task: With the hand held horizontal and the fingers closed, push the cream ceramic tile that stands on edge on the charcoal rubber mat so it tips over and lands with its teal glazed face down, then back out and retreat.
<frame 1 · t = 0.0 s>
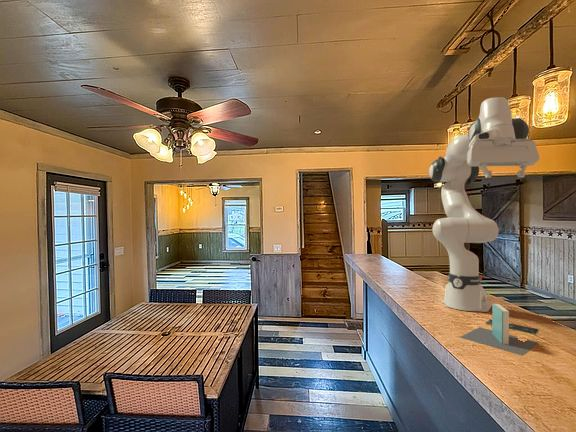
hand: (504, 176, 103), 52 cm above the countertop, tool tilted 20°, fingers open, 8 cm apart
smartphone: (511, 329, 114), on the countertop
mat: (498, 340, 101), on the countertop
tile: (500, 338, 102), resting on mat
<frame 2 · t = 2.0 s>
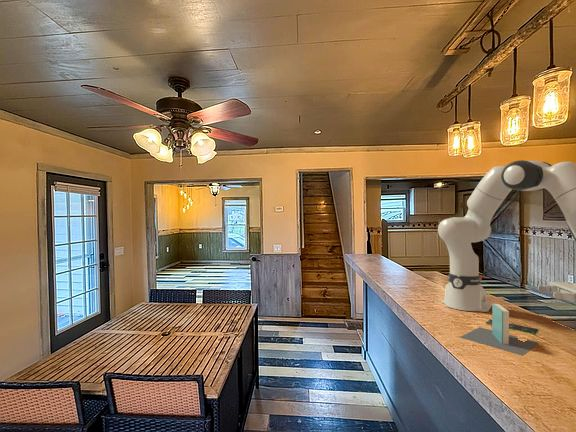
hand: (545, 291, 98), 16 cm above the countertop, tool horizontal, fingers open, 7 cm apart
nothing on the countertop moved.
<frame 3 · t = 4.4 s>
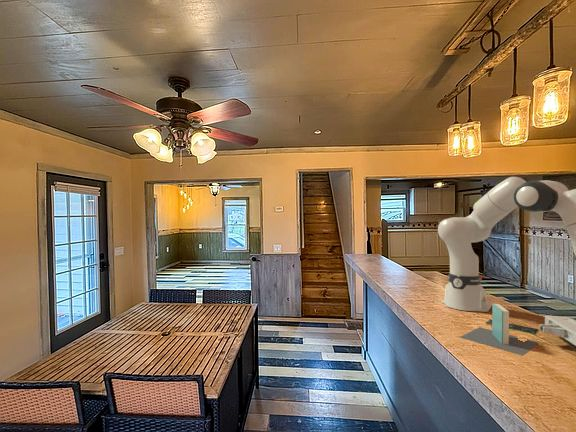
hand: (541, 328, 99), 5 cm above the countertop, tool horizontal, fingers closed
nothing on the countertop moved.
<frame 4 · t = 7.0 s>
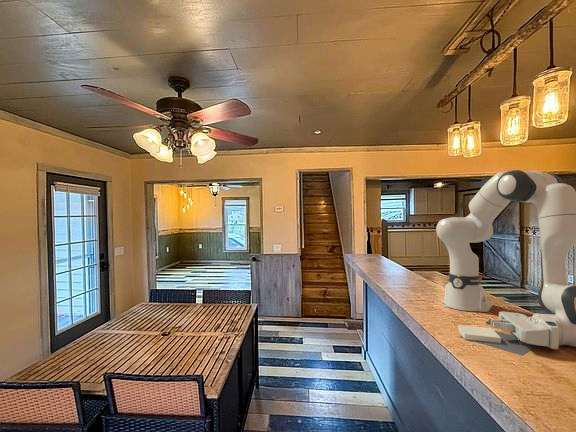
hand: (492, 323, 102), 5 cm above the countertop, tool horizontal, fingers closed
tile: (496, 335, 102), point 1 cm above the countertop, tilted 90°, touching mat
everything else where it was.
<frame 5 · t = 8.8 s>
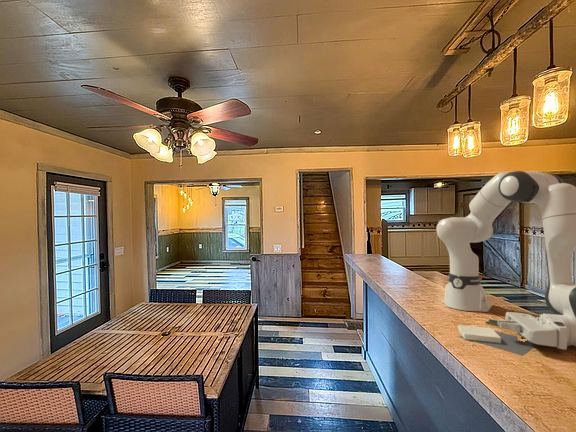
hand: (499, 324, 102), 5 cm above the countertop, tool horizontal, fingers closed
nothing on the countertop moved.
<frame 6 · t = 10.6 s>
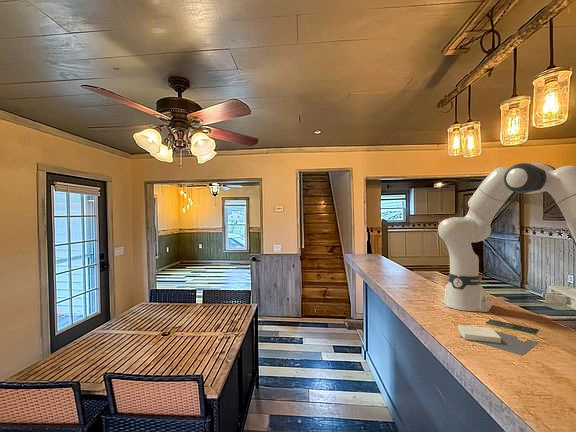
hand: (543, 296, 99), 15 cm above the countertop, tool horizontal, fingers closed
nothing on the countertop moved.
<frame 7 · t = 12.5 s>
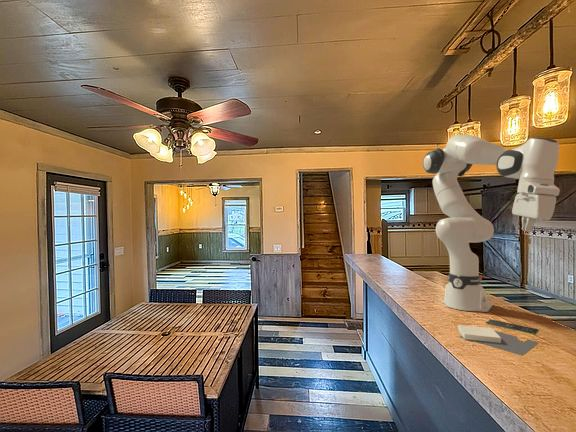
hand: (526, 231, 104), 35 cm above the countertop, tool pointing down, fingers closed
nothing on the countertop moved.
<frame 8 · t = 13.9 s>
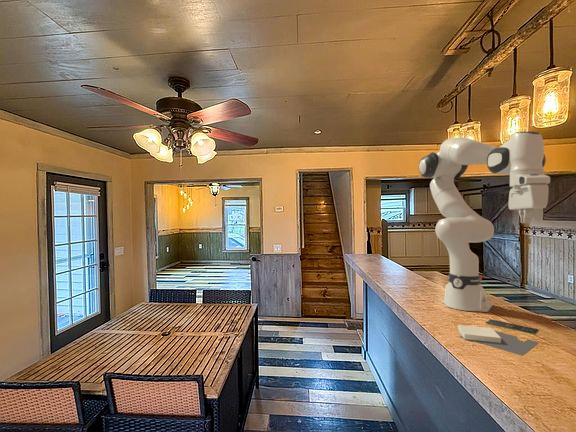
hand: (525, 223, 104), 37 cm above the countertop, tool pointing down, fingers closed
nothing on the countertop moved.
at the end: tile tilted 90°; tile inside the target area (2.2 cm from its centre), point 1.3 cm above the countertop; the gripper is holding nothing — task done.
